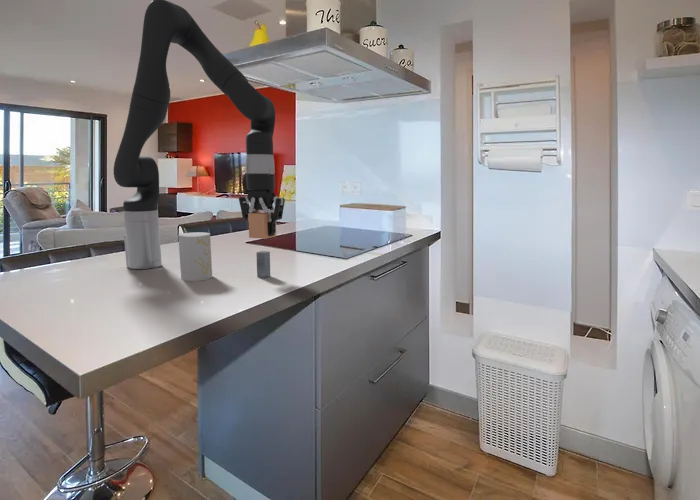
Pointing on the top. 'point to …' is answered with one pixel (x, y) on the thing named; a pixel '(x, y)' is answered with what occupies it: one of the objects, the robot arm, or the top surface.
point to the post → (263, 264)
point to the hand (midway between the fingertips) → (262, 234)
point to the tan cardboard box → (258, 225)
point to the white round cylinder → (195, 256)
